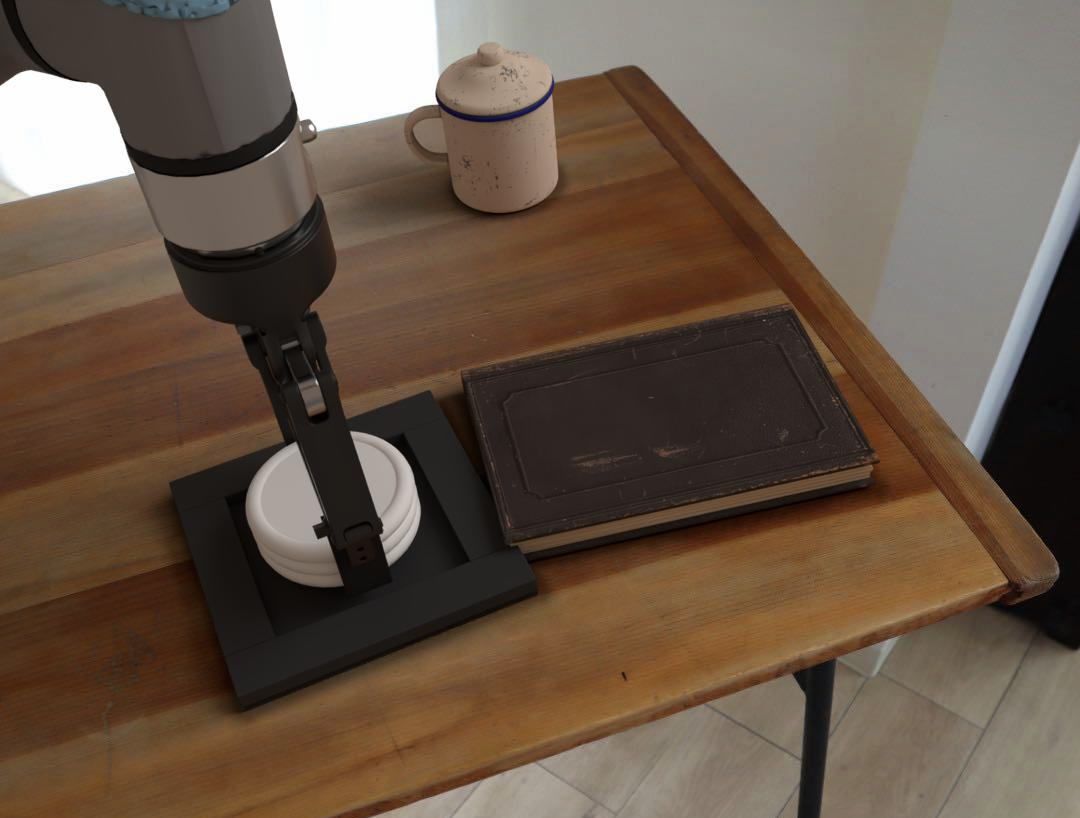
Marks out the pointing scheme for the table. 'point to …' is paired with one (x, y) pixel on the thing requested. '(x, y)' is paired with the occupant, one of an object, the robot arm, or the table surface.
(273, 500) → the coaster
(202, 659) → the table surface
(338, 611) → the base pad
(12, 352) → the table surface
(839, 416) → the hardcover book
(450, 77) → the teacup with lid
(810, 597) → the table surface
